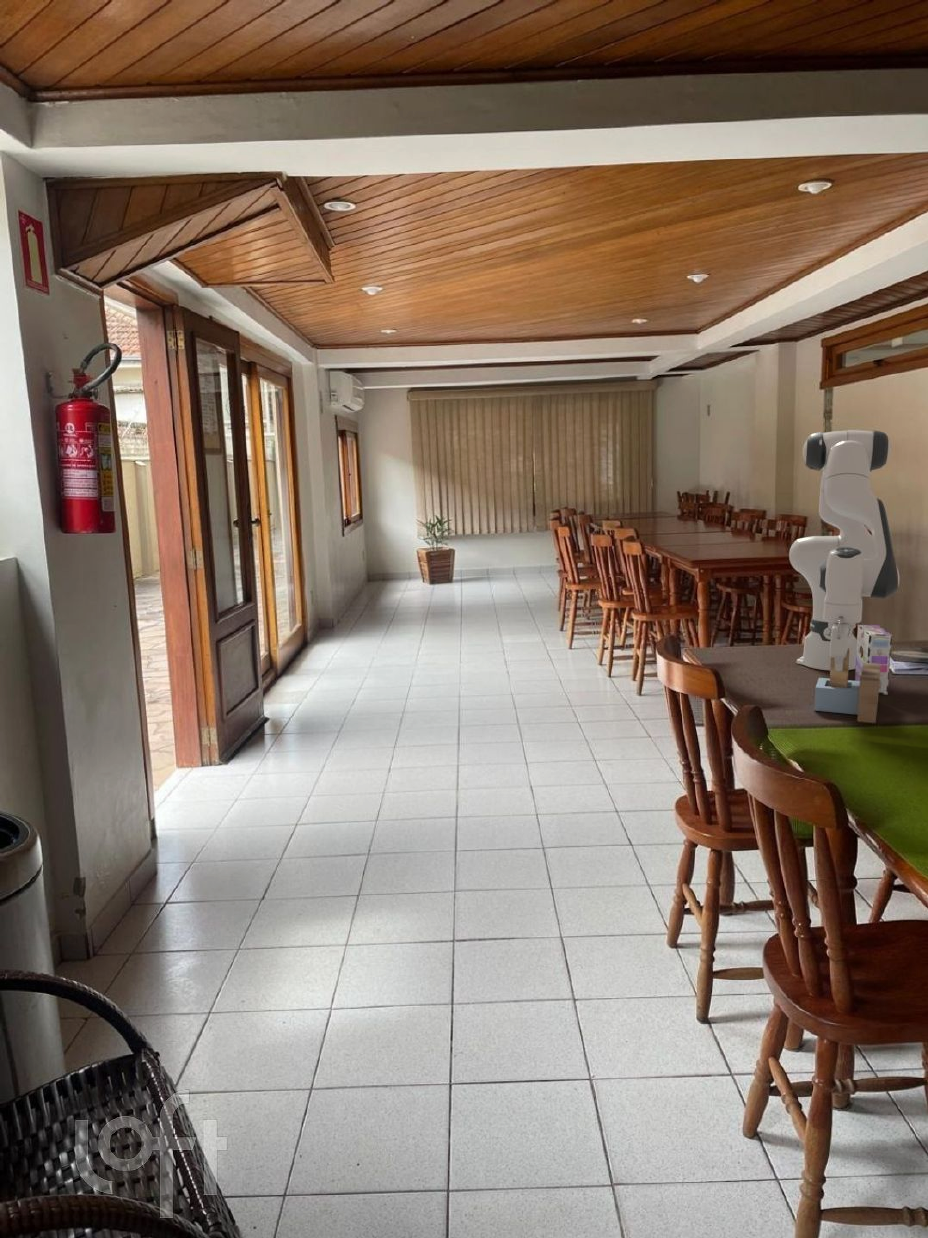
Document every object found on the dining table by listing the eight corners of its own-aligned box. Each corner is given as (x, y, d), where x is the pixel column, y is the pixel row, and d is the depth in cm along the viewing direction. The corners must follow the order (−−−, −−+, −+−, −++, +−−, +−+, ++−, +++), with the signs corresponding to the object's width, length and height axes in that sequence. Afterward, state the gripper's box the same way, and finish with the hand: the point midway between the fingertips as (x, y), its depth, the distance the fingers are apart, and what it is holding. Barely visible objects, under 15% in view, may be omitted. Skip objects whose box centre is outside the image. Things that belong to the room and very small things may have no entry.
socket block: (817, 699, 234) (819, 677, 233) (859, 703, 230) (860, 681, 229) (814, 710, 225) (815, 687, 224) (857, 714, 221) (859, 691, 220)
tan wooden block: (830, 684, 229) (832, 646, 227) (847, 686, 227) (849, 647, 225) (829, 688, 225) (831, 649, 224) (846, 690, 224) (848, 651, 222)
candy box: (888, 695, 237) (892, 634, 234) (865, 694, 239) (868, 634, 236) (876, 681, 251) (879, 624, 248) (853, 681, 252) (857, 623, 249)
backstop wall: (861, 699, 234) (863, 662, 232) (878, 701, 232) (880, 663, 230) (857, 721, 216) (859, 681, 215) (875, 723, 215) (878, 682, 213)
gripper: (853, 621, 212) (850, 678, 215) (858, 607, 230) (855, 660, 233) (825, 620, 215) (822, 676, 218) (831, 606, 233) (829, 658, 236)
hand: (839, 667), depth 225 cm, fingers closed on tan wooden block, 4 cm apart
